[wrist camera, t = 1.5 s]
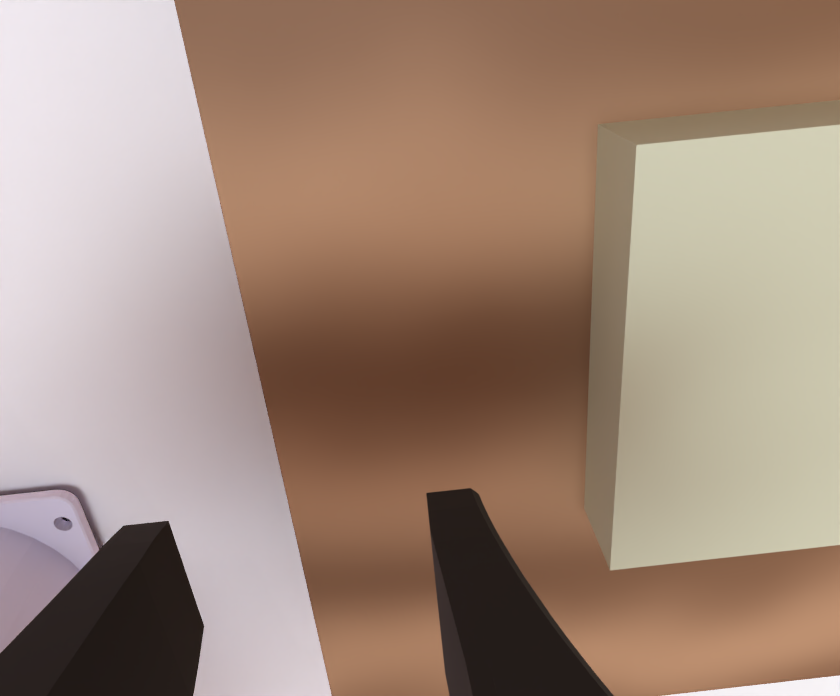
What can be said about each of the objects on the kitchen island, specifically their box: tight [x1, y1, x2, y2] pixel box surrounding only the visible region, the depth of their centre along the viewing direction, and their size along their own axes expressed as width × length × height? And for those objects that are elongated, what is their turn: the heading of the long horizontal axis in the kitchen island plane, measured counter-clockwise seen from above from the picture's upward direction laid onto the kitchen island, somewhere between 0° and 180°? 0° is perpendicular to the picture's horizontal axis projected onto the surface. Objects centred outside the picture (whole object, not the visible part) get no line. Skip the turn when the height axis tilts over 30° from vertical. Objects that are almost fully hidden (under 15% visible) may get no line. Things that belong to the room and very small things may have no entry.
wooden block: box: [174, 0, 840, 696], centre depth 16 cm, size 24×16×4 cm, turn 5°
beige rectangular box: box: [584, 100, 840, 570], centre depth 13 cm, size 9×6×2 cm, turn 5°
